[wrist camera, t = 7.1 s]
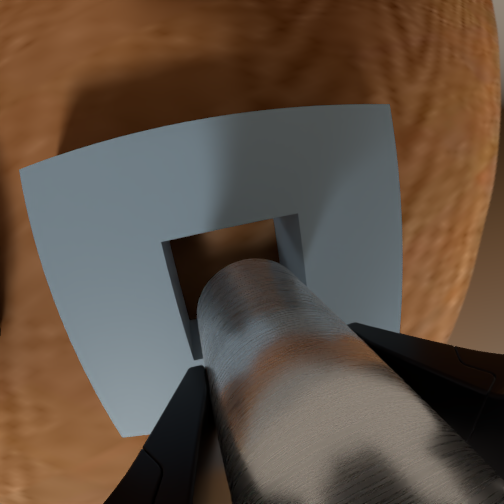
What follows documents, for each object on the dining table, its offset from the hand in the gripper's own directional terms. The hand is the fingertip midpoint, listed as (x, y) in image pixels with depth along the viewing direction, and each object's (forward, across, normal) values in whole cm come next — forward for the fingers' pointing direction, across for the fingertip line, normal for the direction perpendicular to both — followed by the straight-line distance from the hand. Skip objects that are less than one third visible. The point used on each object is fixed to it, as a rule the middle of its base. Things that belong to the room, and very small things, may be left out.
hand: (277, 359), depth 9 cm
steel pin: (+3, 0, 0) cm, 3 cm away
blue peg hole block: (+9, 0, 0) cm, 9 cm away
